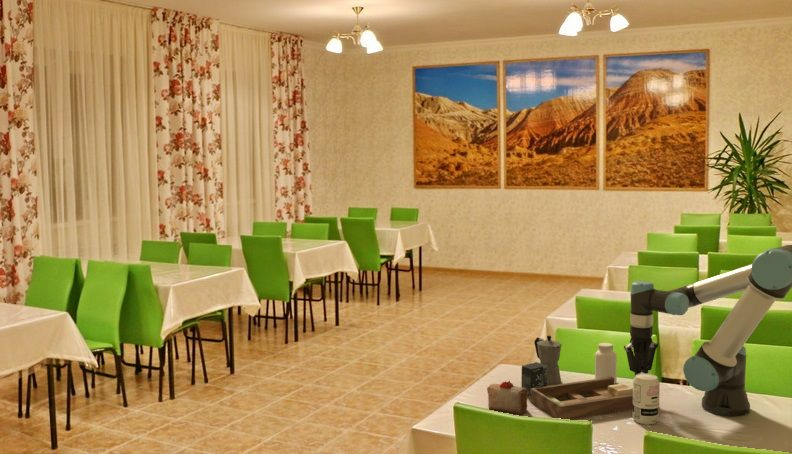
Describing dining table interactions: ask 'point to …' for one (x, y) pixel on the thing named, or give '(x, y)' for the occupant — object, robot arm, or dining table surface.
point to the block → (619, 390)
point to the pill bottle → (605, 362)
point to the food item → (507, 397)
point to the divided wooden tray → (580, 399)
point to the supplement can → (646, 398)
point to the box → (534, 376)
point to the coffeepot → (549, 358)
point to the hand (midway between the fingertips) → (640, 390)
